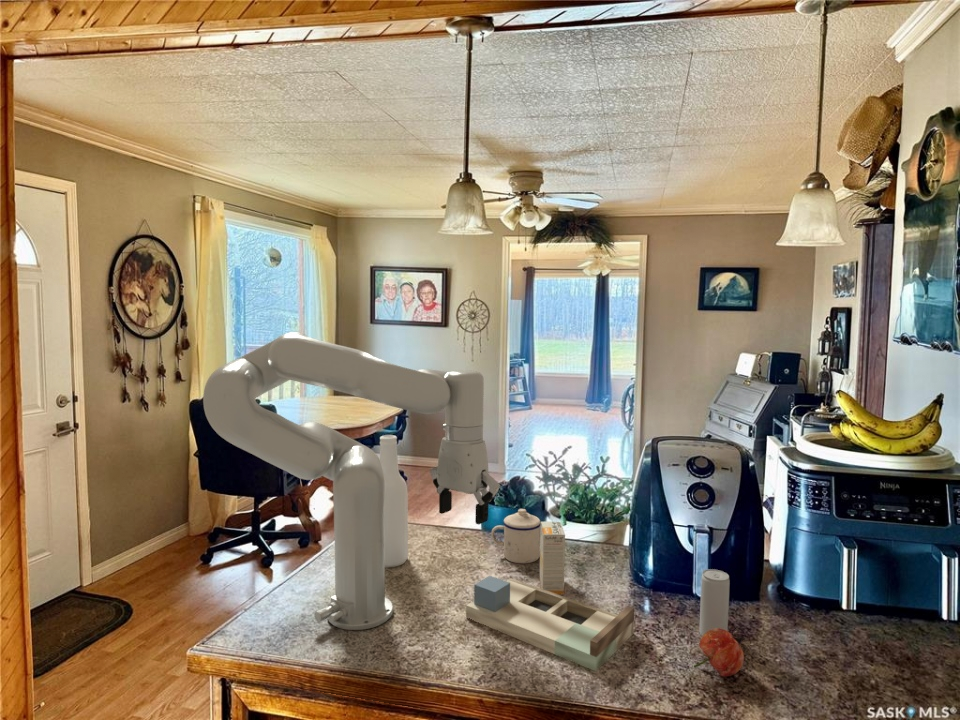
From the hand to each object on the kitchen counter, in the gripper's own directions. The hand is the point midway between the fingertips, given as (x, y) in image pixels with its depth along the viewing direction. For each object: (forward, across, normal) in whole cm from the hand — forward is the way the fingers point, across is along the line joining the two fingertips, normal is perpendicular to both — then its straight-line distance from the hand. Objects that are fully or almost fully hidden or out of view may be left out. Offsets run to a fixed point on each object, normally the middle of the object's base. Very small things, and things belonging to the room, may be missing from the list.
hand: (463, 516), depth 122 cm
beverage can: (+18, +44, +19) cm, 51 cm away
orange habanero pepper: (+18, +48, +9) cm, 52 cm away
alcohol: (+19, -27, +5) cm, 33 cm away
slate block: (+16, +8, 0) cm, 17 cm away
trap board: (+18, +18, +4) cm, 26 cm away
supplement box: (+18, +10, +18) cm, 28 cm away
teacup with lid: (+18, -5, +26) cm, 32 cm away
